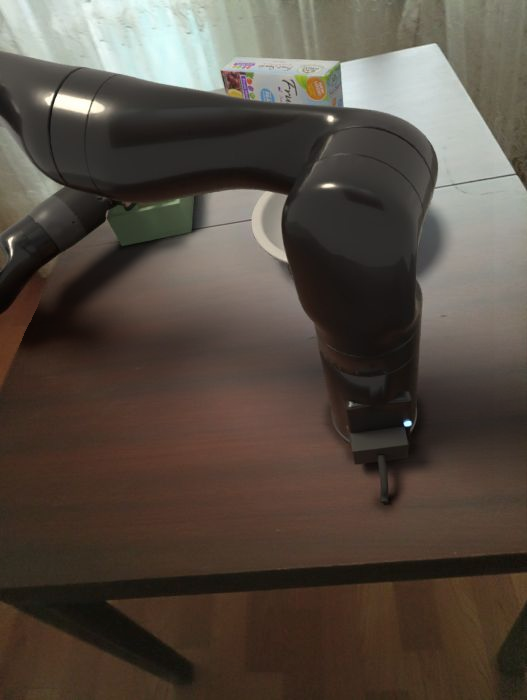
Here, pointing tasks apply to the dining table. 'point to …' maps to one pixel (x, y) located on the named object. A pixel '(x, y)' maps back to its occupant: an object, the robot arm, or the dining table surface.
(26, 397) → the dining table surface
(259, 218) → the soup bowl
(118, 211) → the bin
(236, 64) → the snack box
